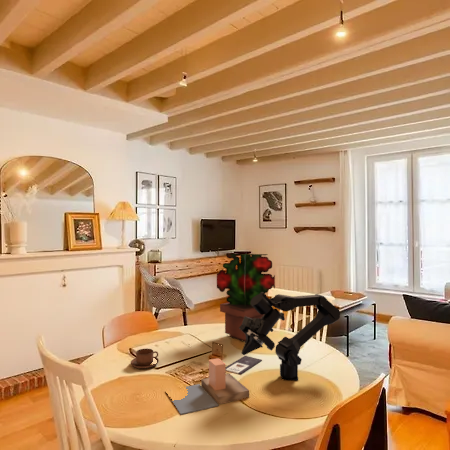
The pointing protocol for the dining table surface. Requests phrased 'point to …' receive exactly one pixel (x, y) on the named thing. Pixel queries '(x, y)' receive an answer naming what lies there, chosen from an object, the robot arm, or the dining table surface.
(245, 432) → the dining table surface
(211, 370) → the salmon pink block
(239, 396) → the block
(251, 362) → the chocolate bar
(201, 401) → the slate mat
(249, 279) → the potted plant
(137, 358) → the cup and saucer
